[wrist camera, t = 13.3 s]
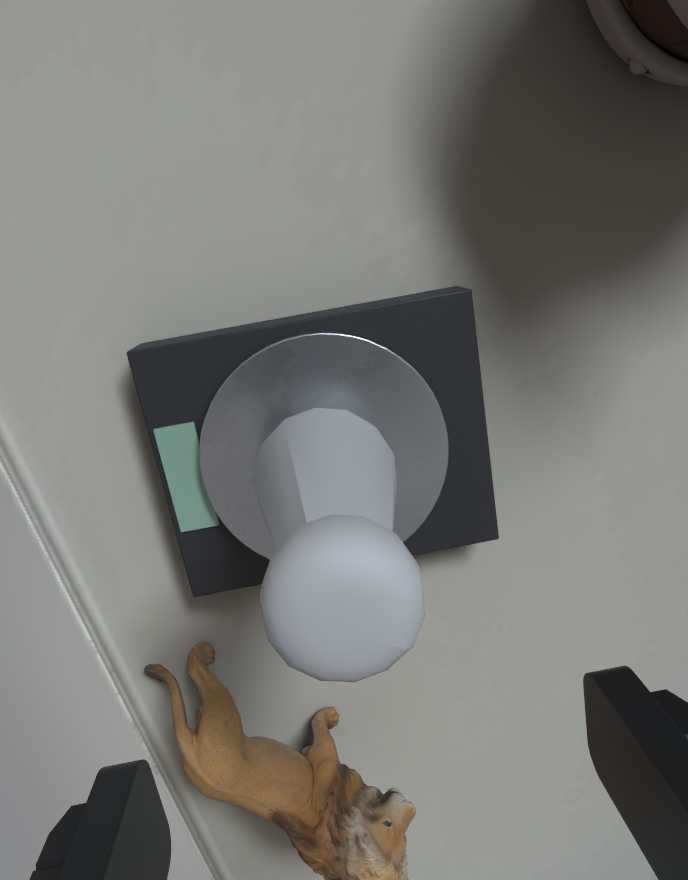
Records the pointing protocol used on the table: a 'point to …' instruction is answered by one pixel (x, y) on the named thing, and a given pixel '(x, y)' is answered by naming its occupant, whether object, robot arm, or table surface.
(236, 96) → the table surface
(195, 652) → the lion figurine
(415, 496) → the scale pan
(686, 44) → the flowerpot
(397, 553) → the salt shaker
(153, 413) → the scale
